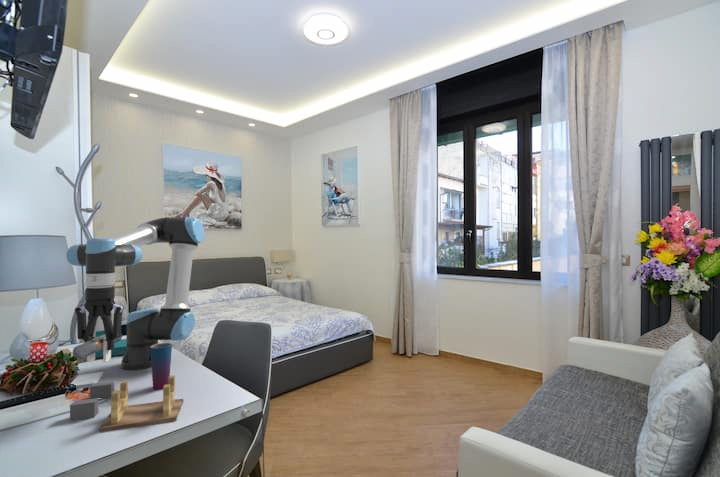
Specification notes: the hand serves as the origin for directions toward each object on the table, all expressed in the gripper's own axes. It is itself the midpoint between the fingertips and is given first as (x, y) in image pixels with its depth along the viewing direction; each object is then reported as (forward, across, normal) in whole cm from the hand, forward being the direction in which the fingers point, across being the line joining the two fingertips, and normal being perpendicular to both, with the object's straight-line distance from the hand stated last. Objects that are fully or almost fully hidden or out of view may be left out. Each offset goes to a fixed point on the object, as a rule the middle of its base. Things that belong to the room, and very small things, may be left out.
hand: (99, 360), depth 110 cm
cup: (+15, +12, +15) cm, 24 cm away
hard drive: (+16, -18, +23) cm, 33 cm away
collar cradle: (+15, +17, -7) cm, 24 cm away
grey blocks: (+15, -2, +1) cm, 15 cm away
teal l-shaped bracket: (+15, -25, +58) cm, 65 cm away
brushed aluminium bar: (-3, 0, 0) cm, 3 cm away
